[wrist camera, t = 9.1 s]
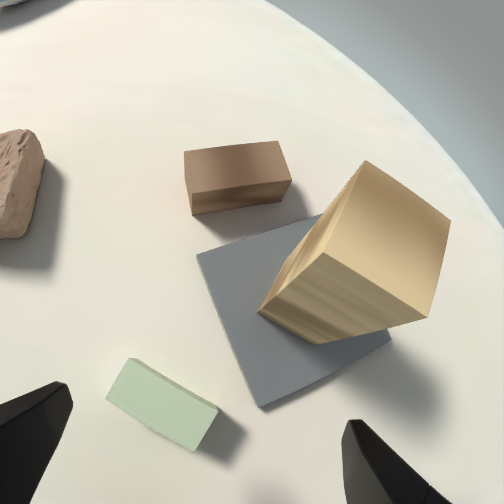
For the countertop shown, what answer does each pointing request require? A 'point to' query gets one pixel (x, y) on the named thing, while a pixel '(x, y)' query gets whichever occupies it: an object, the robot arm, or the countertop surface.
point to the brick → (18, 180)
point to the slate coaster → (263, 330)
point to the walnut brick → (235, 176)
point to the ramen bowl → (10, 2)
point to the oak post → (361, 263)
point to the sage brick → (162, 404)
